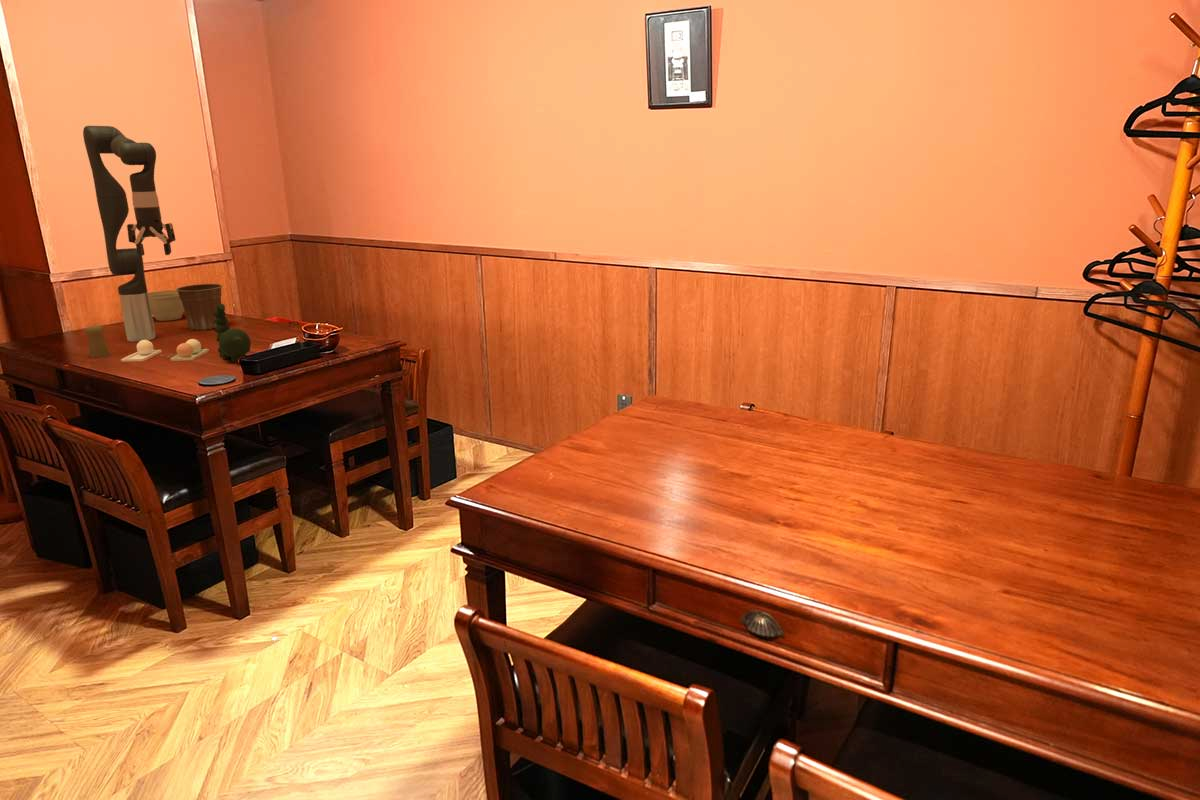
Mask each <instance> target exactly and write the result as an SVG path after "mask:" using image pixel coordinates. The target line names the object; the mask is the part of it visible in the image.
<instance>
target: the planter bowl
mask: <svg viewBox="0 0 1200 800" xmlns="http://www.w3.org/2000/svg"><path fill="white" fill-rule="evenodd" d="M148 298H149V303H150V309H151V312H152V316H153V317H154V318H155V320H156V321H159V322H160V321H161V322H162V321H163V322H166V321H167V322H169V321H176V320H180V319H182V317H183V315H182V314H183V313H185V311H184V308H183V304H182V301H181V300H180V297H179V294H178V291H176V289H173V290H169V289H168V290H157V291H149V292H148Z"/></svg>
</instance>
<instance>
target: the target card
mask: <svg viewBox="0 0 1200 800" xmlns="http://www.w3.org/2000/svg"><path fill="white" fill-rule="evenodd" d="M174 356H175V354H174V353H171V354H169V355H167V356H166V358H172V357H174ZM161 357H164V355H163V354H160V355H159V358H161Z"/></svg>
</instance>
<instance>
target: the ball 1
mask: <svg viewBox="0 0 1200 800" xmlns="http://www.w3.org/2000/svg"><path fill="white" fill-rule="evenodd" d="M137 342H138V343H137V344H136V351H137V352H139V353H141V354H144V355H147V354H150V353H151V352H152V351H153V350H154V345H153V343H152V342H151V340H141V341H137Z"/></svg>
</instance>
